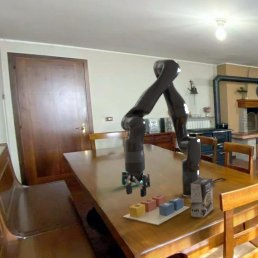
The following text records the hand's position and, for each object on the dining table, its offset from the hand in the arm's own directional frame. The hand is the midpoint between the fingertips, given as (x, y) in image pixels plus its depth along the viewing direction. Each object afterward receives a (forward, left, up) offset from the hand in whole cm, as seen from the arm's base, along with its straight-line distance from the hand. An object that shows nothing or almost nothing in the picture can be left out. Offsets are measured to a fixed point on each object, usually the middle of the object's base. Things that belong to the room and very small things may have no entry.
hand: (136, 195), depth 111 cm
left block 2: (-12, 0, -10) cm, 15 cm away
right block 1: (-6, +11, -10) cm, 16 cm away
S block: (0, 0, -10) cm, 10 cm away
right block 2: (-12, +11, -10) cm, 19 cm away
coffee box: (-13, +26, -10) cm, 31 cm away
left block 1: (-6, 0, -10) cm, 11 cm away
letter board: (-6, +6, -10) cm, 13 cm away
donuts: (-30, -40, -10) cm, 51 cm away
